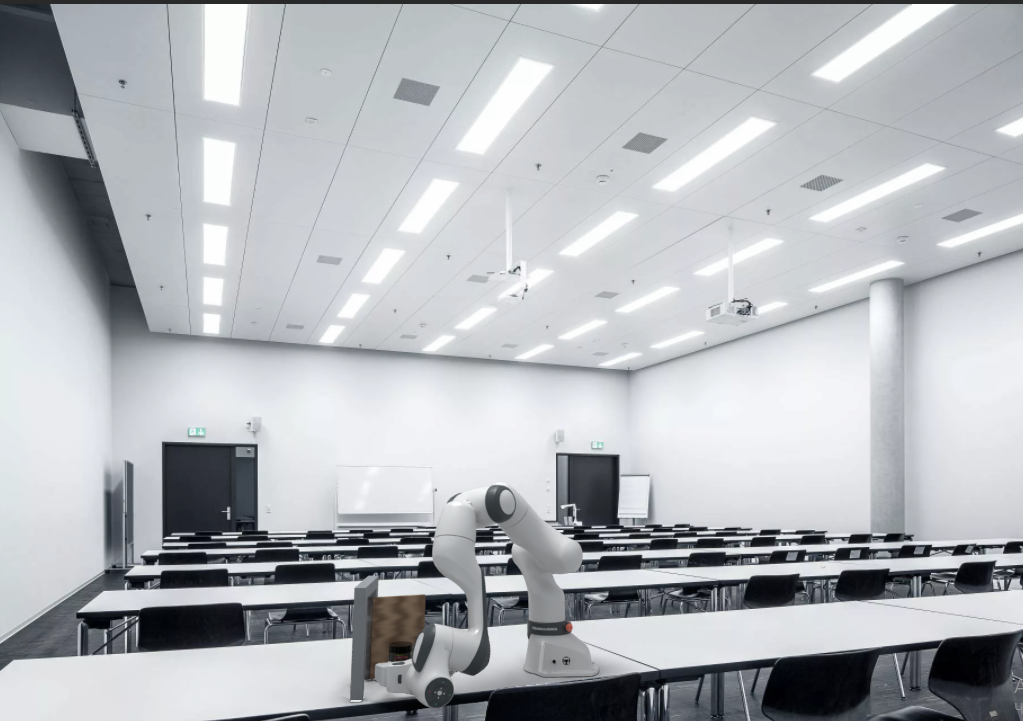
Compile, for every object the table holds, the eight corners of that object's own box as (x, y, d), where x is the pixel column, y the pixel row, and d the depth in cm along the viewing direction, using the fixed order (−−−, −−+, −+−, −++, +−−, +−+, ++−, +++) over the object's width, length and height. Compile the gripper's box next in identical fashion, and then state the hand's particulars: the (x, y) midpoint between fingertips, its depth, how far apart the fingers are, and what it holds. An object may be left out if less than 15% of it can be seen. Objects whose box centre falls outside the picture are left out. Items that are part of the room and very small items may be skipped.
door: (366, 681, 190) (369, 599, 194) (364, 678, 193) (367, 597, 197) (424, 675, 196) (426, 595, 200) (422, 672, 199) (424, 594, 203)
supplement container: (408, 678, 195) (409, 640, 197) (414, 685, 189) (415, 645, 191) (385, 681, 192) (386, 642, 194) (390, 688, 186) (392, 647, 188)
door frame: (364, 676, 197) (368, 575, 202) (375, 676, 197) (378, 575, 202) (349, 702, 173) (354, 587, 178) (361, 702, 174) (366, 587, 179)
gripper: (460, 658, 177) (444, 647, 189) (382, 666, 169) (371, 653, 181) (460, 684, 175) (444, 671, 188) (381, 693, 168) (370, 678, 180)
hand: (407, 662), depth 185 cm, fingers open, 8 cm apart
